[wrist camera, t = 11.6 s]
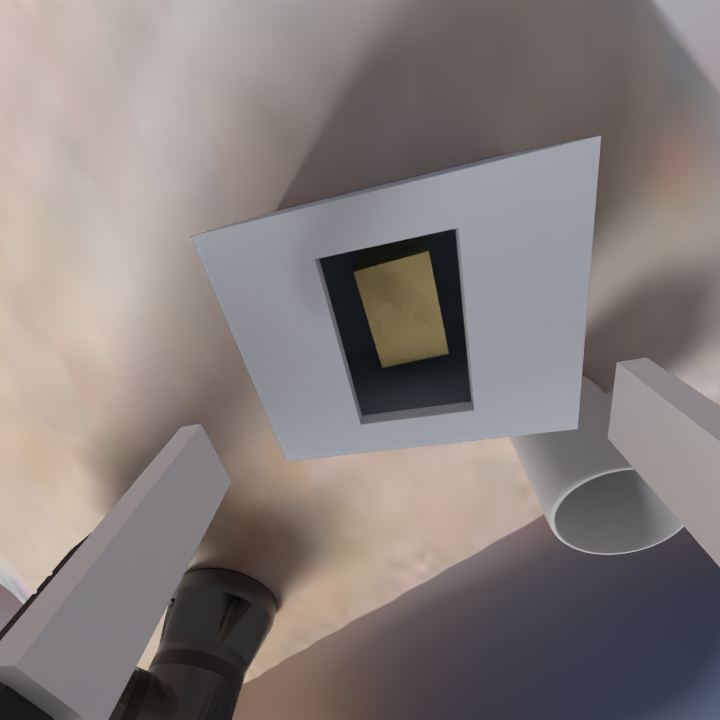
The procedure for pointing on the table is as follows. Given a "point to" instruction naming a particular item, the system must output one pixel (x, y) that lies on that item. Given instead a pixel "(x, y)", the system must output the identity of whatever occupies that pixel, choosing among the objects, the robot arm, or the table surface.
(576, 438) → the mug
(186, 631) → the robot arm
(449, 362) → the grey box with hole
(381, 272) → the gold rectangular block
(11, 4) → the table surface
